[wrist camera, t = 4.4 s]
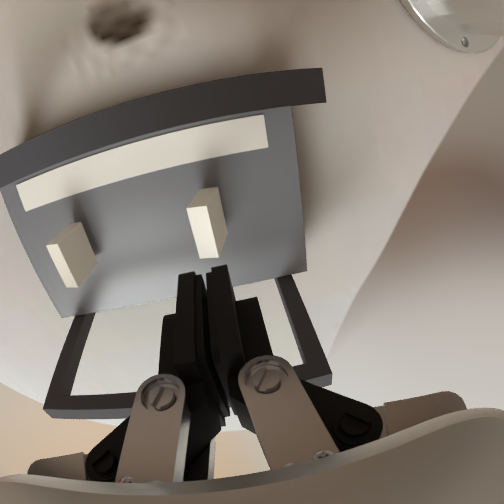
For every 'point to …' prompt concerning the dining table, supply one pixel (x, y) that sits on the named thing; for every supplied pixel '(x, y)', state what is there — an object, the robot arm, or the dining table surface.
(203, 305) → the robot arm
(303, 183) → the dining table surface
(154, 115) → the dark grey open frame
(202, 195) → the cream cuboid
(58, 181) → the breaker panel
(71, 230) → the paddle
